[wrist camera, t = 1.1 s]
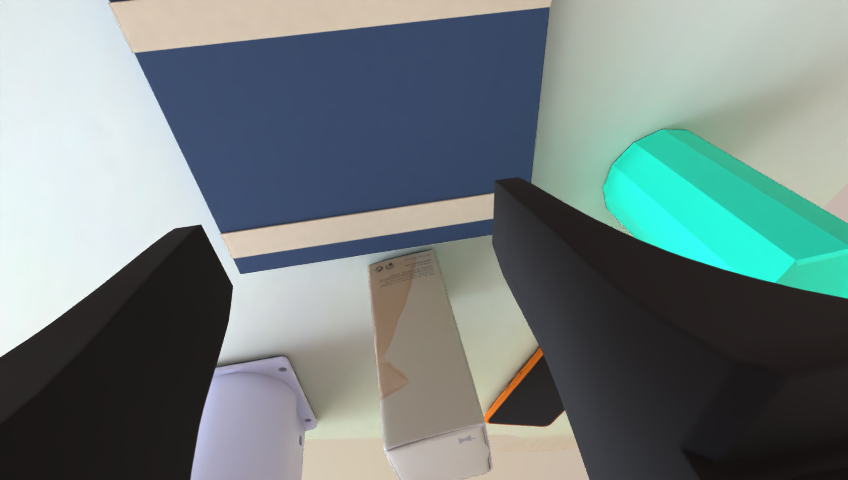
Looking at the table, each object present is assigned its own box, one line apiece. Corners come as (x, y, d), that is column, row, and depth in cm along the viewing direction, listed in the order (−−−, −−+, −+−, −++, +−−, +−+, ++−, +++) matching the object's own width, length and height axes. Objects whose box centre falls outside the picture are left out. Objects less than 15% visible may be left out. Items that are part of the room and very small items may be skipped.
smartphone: (659, 303, 31) (666, 312, 31) (545, 419, 40) (548, 428, 39) (583, 287, 29) (589, 296, 28) (478, 415, 37) (481, 424, 37)
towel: (518, 217, 24) (526, 230, 23) (244, 260, 23) (239, 275, 22) (546, -82, 15) (561, -83, 14) (106, -42, 14) (87, -40, 13)
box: (365, 262, 24) (379, 448, 16) (435, 246, 24) (488, 421, 16) (385, 319, 28) (406, 498, 19) (446, 304, 28) (495, 476, 19)
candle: (714, 116, 22) (992, 256, 13) (688, 206, 26) (888, 365, 16) (608, 141, 22) (809, 302, 12) (597, 228, 26) (746, 401, 16)
